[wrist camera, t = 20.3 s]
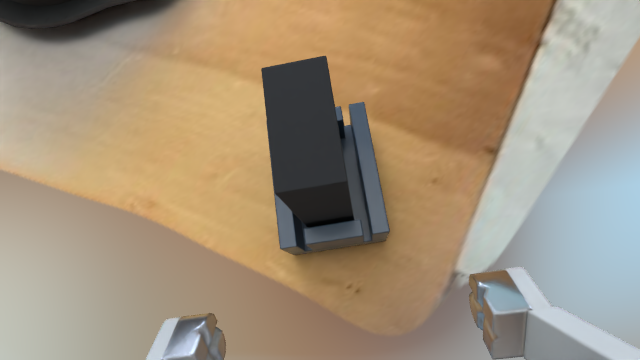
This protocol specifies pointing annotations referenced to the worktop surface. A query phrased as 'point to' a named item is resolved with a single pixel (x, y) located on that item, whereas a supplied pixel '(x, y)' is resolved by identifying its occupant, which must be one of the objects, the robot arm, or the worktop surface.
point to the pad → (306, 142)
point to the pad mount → (363, 195)
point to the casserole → (50, 11)
